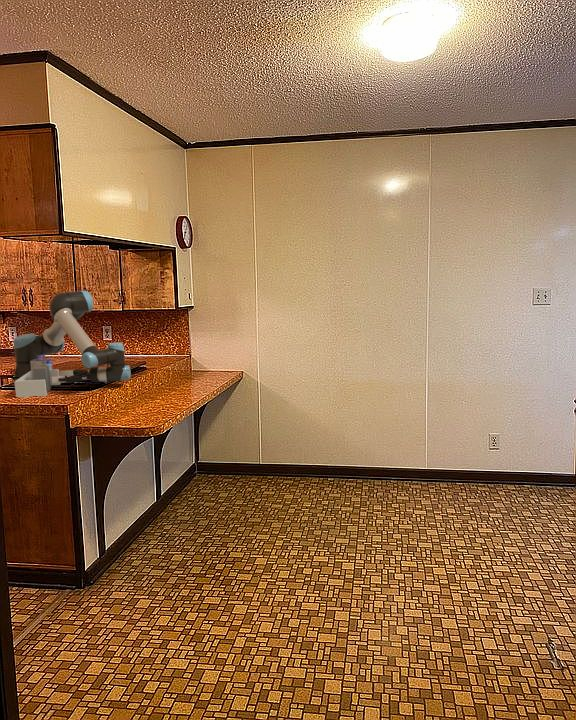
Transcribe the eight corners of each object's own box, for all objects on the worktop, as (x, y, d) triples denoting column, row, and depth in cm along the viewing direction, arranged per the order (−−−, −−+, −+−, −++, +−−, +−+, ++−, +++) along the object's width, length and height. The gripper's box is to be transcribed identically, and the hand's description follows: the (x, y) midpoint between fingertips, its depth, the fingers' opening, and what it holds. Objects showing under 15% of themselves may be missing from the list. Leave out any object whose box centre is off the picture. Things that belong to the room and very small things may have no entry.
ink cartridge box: (54, 380, 338) (51, 354, 335) (48, 383, 332) (45, 356, 329) (38, 380, 340) (35, 354, 337) (32, 383, 334) (28, 356, 331)
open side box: (32, 385, 328) (30, 370, 326) (60, 384, 329) (58, 369, 327) (16, 397, 304) (14, 381, 303) (46, 396, 305) (44, 380, 304)
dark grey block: (39, 389, 319) (36, 366, 317) (51, 388, 320) (48, 365, 317) (35, 392, 314) (32, 368, 311) (47, 391, 314) (45, 368, 312)
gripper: (94, 387, 305) (49, 390, 304) (104, 376, 330) (63, 378, 328) (92, 372, 304) (48, 375, 302) (103, 362, 328) (62, 364, 327)
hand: (56, 376), depth 315 cm, fingers open, 13 cm apart
